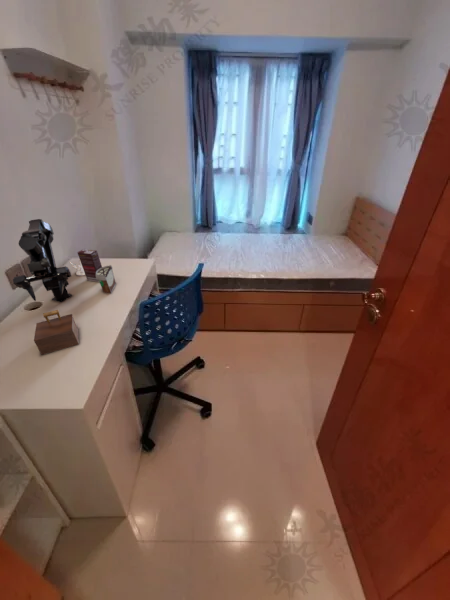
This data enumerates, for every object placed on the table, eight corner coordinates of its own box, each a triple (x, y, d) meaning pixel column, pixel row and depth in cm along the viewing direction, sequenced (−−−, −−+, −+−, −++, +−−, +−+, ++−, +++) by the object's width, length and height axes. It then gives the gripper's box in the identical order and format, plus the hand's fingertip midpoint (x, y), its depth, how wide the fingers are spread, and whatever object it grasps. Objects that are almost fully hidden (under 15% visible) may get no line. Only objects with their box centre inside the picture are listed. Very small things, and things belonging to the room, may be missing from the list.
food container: (104, 283, 144) (98, 265, 138) (116, 282, 144) (111, 264, 139) (97, 296, 134) (91, 277, 128) (110, 294, 134) (104, 276, 128)
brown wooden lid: (37, 324, 106) (32, 314, 104) (72, 314, 110) (68, 305, 108) (34, 341, 98) (28, 331, 95) (73, 331, 102) (68, 321, 99)
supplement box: (106, 277, 149) (97, 250, 140) (100, 282, 145) (90, 254, 136) (93, 276, 151) (83, 248, 143) (86, 280, 147) (76, 252, 139)
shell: (95, 272, 154) (90, 257, 149) (71, 277, 151) (65, 261, 145) (95, 266, 161) (90, 251, 156) (73, 270, 158) (67, 255, 152)
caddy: (43, 338, 109) (37, 325, 106) (78, 328, 113) (72, 316, 110) (41, 355, 101) (34, 342, 98) (78, 344, 105) (73, 331, 102)
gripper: (1, 257, 100) (11, 298, 97) (59, 247, 106) (69, 284, 104) (15, 268, 110) (23, 305, 108) (67, 258, 116) (76, 293, 114)
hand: (48, 297), depth 108 cm, fingers open, 9 cm apart
